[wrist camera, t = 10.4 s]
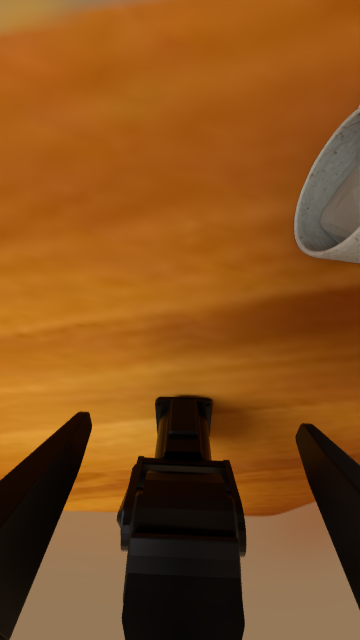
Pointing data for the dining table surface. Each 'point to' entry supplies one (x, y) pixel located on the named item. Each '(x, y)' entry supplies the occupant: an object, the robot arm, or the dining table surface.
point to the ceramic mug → (333, 198)
